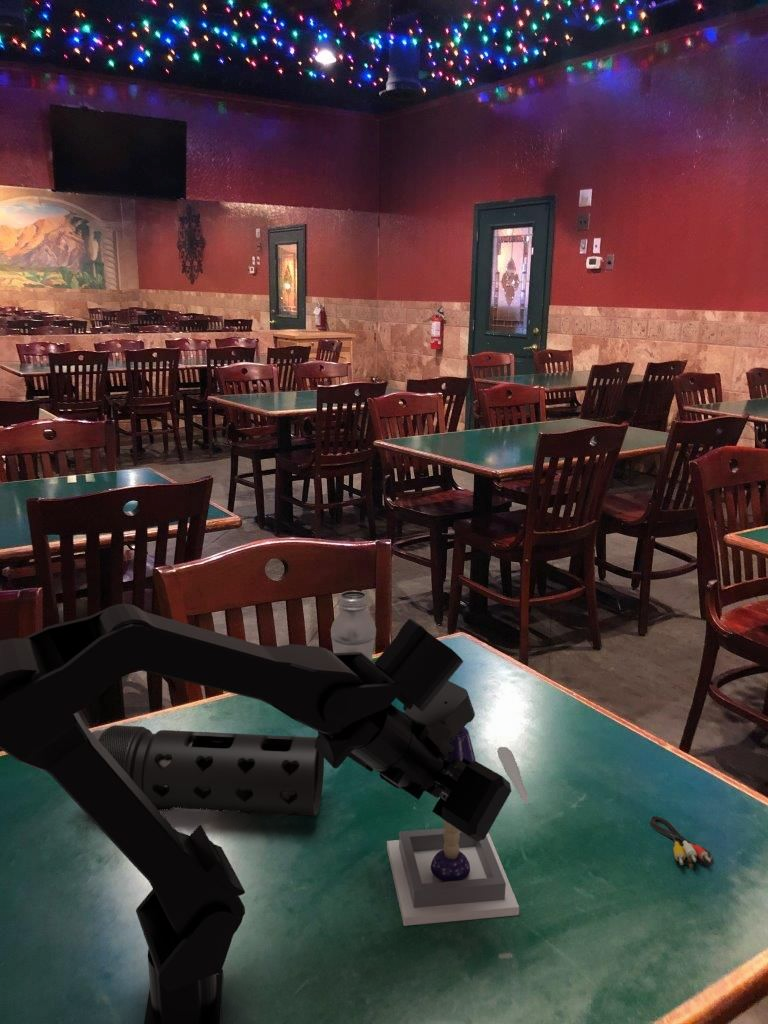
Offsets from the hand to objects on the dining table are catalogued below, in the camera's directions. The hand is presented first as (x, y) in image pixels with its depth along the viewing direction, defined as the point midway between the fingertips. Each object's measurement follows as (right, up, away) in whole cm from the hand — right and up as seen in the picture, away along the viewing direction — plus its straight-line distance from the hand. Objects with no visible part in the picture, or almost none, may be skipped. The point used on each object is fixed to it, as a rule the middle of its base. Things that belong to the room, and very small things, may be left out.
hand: (460, 797), depth 88 cm
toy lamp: (-1, -8, +1) cm, 8 cm away
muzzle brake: (-30, -6, +13) cm, 34 cm away
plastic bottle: (-13, -1, +34) cm, 37 cm away
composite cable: (+27, -9, +8) cm, 29 cm away
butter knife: (+10, -7, +15) cm, 19 cm away
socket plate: (-1, -10, +2) cm, 10 cm away
